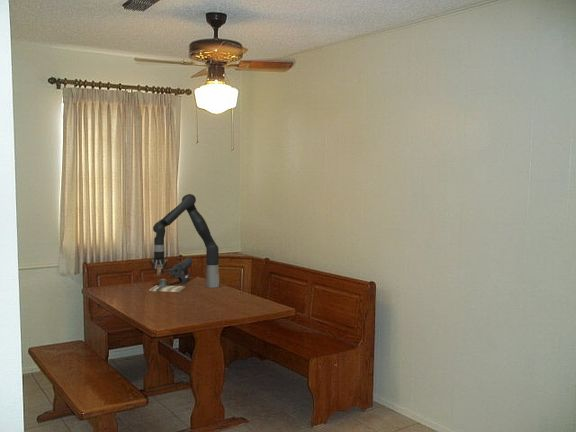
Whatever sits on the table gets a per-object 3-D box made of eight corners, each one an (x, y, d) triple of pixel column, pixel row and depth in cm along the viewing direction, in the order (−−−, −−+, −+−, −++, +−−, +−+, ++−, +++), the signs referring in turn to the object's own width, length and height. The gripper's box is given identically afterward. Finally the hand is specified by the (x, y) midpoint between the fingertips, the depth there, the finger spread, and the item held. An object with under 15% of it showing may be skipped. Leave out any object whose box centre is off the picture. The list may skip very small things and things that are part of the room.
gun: (194, 281, 438) (194, 257, 437) (172, 288, 413) (172, 262, 411) (187, 280, 441) (187, 256, 440) (165, 287, 416) (165, 261, 414)
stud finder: (166, 285, 414) (166, 278, 414) (164, 287, 408) (164, 280, 408) (161, 285, 415) (161, 278, 414) (158, 287, 409) (158, 279, 408)
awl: (162, 276, 405) (162, 261, 404) (160, 277, 401) (160, 262, 400) (157, 276, 405) (157, 261, 404) (156, 276, 401) (156, 262, 401)
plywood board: (185, 287, 414) (185, 286, 414) (179, 291, 400) (179, 290, 399) (155, 286, 416) (155, 285, 416) (149, 291, 401) (149, 289, 401)
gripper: (170, 250, 405) (170, 272, 406) (151, 249, 406) (151, 272, 407) (166, 251, 397) (166, 274, 399) (148, 251, 399) (148, 274, 400)
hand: (159, 273), depth 403 cm, fingers closed on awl, 3 cm apart
